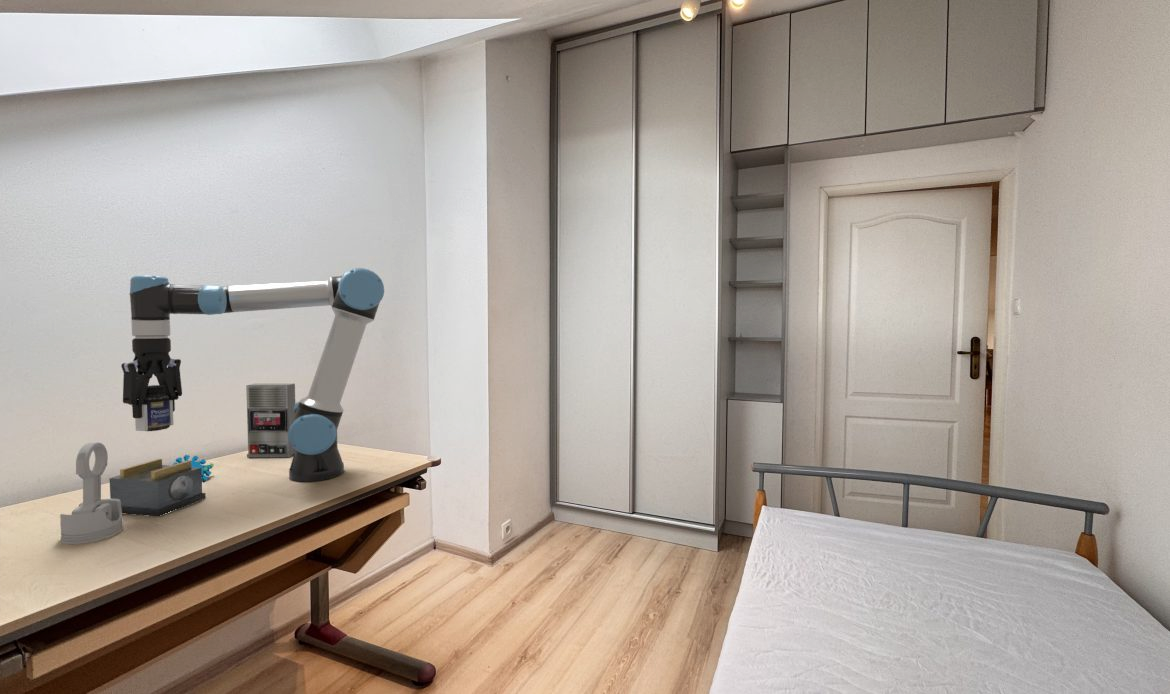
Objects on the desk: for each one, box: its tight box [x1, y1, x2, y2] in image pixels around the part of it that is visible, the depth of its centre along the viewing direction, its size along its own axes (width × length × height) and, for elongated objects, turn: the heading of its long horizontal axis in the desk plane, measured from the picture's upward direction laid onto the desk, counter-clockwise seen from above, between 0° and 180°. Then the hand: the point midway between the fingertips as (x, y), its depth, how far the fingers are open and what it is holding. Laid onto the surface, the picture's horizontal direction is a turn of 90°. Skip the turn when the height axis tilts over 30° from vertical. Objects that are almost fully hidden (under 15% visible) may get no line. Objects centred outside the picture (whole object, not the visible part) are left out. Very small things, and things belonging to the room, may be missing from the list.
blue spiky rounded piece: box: [172, 454, 215, 482], centre depth 155 cm, size 11×6×10 cm
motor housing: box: [108, 458, 207, 517], centre depth 135 cm, size 15×13×10 cm
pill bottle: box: [143, 384, 171, 432], centre depth 134 cm, size 6×6×11 cm
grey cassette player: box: [245, 382, 296, 458], centre depth 182 cm, size 14×6×25 cm, turn 95°
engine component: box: [59, 442, 124, 545], centre depth 117 cm, size 11×20×10 cm
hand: (155, 427), depth 134 cm, fingers closed on pill bottle, 6 cm apart
